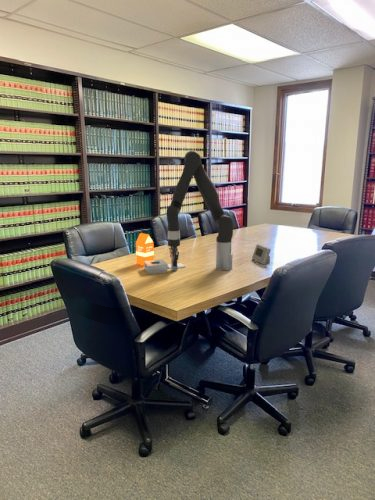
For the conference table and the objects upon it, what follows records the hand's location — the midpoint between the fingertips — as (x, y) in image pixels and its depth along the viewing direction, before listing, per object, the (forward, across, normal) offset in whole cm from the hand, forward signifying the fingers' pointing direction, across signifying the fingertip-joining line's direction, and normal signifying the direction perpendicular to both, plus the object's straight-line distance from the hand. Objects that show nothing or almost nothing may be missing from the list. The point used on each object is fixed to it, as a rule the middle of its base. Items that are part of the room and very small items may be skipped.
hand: (174, 265), depth 225 cm
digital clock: (+3, +1, -60) cm, 60 cm away
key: (+3, 0, 0) cm, 3 cm away
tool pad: (+3, +8, -3) cm, 9 cm away
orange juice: (+3, +21, +14) cm, 25 cm away
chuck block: (+3, +3, +11) cm, 12 cm away
